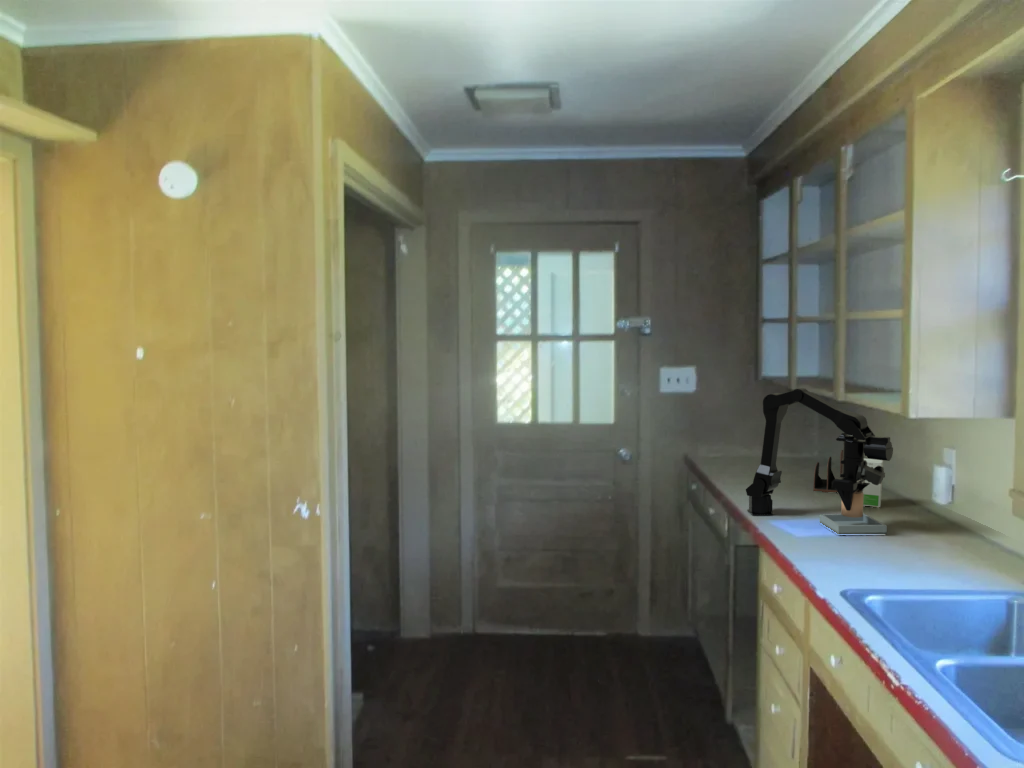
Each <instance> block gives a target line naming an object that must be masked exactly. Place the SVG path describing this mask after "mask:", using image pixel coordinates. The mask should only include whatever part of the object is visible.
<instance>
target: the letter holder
mask: <svg viewBox="0 0 1024 768" xmlns="http://www.w3.org/2000/svg"><path fill="white" fill-rule="evenodd" d="M841 460H843V449H841V451H840V456H839V473H840V474H841V473H843V464H841ZM819 472H820V461H819V462H818V461H817V462H816V464H815V467H814V471H813V492H814V491H822V492H821V493H828V492H837V490H836V489H835V488H832V481H833V480H834V479H836V477H835V475H834V473H833V471H832V456H829V457H828V460H827V465H826V479H825V478H821V477H820V475H819V474H820V473H819Z"/></svg>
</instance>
